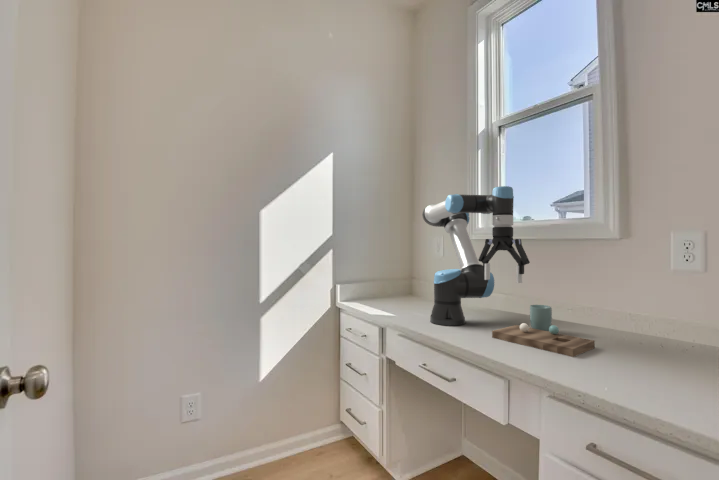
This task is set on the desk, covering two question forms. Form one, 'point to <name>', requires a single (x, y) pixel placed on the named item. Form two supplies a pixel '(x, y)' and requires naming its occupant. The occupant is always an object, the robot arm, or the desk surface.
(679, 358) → the desk surface
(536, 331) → the board
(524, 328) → the ball
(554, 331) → the teal ball
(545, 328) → the cup
